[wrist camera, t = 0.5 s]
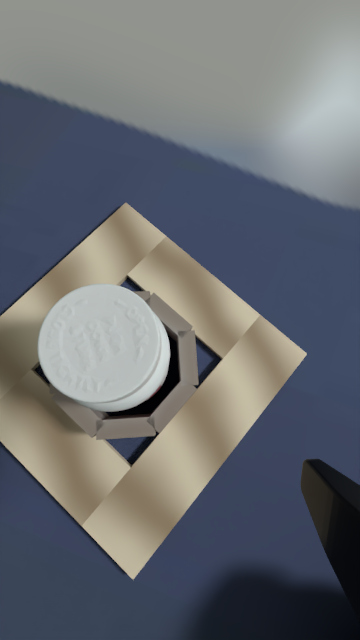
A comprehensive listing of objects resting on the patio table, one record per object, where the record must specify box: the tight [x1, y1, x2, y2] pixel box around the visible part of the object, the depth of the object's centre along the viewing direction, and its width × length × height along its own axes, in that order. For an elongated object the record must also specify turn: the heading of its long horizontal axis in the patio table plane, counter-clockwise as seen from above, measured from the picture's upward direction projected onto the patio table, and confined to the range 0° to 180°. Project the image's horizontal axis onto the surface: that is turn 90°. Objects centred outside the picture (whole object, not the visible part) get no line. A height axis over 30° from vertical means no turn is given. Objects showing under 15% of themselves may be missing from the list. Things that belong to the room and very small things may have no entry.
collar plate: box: [0, 203, 307, 579], centre depth 22 cm, size 20×20×3 cm
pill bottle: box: [37, 284, 170, 412], centre depth 18 cm, size 6×6×11 cm
